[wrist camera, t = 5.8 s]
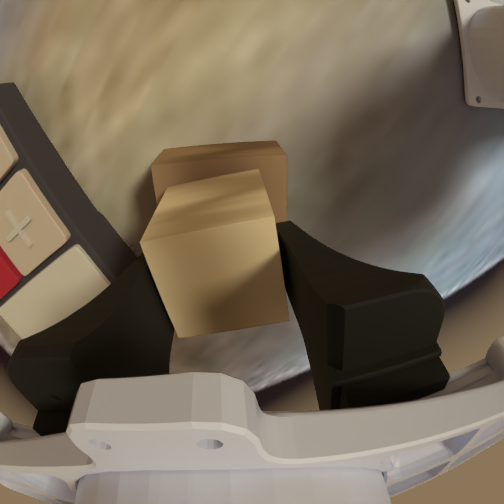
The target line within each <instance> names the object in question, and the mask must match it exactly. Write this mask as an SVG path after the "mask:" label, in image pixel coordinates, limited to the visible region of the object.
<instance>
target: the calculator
mask: <svg viewBox="0 0 504 504" xmlns="http://www.w3.org/2000/svg"><path fill="white" fill-rule="evenodd" d="M136 259H137V257H136V256H135V254H134V253H133V252H132V251H131V250H130V248H129V247H128V246H127V245H126V243H125V242H124V241H123V240H122V238H121V237H120V236H119V235H118V233H117V232H116V231H115V230H114V228H113V227H112V226H111V224H110V223H109V222H108V221H107V219H106V218H105V217H104V216H103V215H102V214H101V213H100V212H98V211H97V210H96V208H95V207H94V206H93V204H92V203H91V201H90V200H89V199H88V197H87V196H86V194H85V193H84V191H83V190H82V188H81V187H80V186H79V184H78V183H77V181H76V180H75V178H74V177H73V175H72V174H71V172H70V171H69V169H68V168H67V166H66V165H65V163H64V162H63V160H62V158H61V157H60V155H59V154H58V152H57V151H56V149H55V148H54V146H53V144H52V143H51V141H50V140H49V138H48V137H47V135H46V134H45V132H44V131H43V129H42V128H41V126H40V124H39V123H38V121H37V120H36V118H35V116H34V115H33V113H32V112H31V110H30V108H29V107H28V105H27V103H26V102H25V100H24V98H23V97H22V95H21V93H20V92H19V90H18V88H17V87H16V85H15V84H14V83H3V84H0V315H1V316H2V317H3V318H4V320H5V321H6V322H7V323H8V324H9V325H10V326H11V327H12V328H13V330H14V331H15V332H16V333H17V334H18V335H19V336H20V337H21V338H22V339H25V338H27V337H29V336H32V335H34V334H36V333H38V332H41V331H43V330H45V329H47V328H49V327H51V326H52V325H54V324H56V323H58V322H60V321H61V320H63V319H65V318H66V317H68V316H69V315H71V314H72V313H74V312H75V311H77V310H78V309H80V308H81V307H83V306H84V305H86V304H87V303H88V302H90V301H91V300H92V299H94V298H95V297H96V296H97V295H99V294H100V293H101V292H102V291H103V290H104V289H106V288H107V287H108V286H109V285H110V284H111V283H112V282H113V281H114V280H115V279H116V278H117V277H118V276H120V275H121V274H122V273H123V272H124V271H125V270H126V269H127V268H128V267H129V266H130V265H131V264H132V263H133V262H134V261H135V260H136Z"/></svg>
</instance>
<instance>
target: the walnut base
mask: <svg viewBox="0 0 504 504" xmlns="http://www.w3.org/2000/svg"><path fill="white" fill-rule="evenodd" d="M254 169H259V171H260V174H261V177H262V180H263V183H264V186H265V189H266V192H267V195H268V198H269V201H270V204H271V207H272V210H273V214H274V217H275V223H279V222H285V221H287V155H286V153H285V152H284V151H283V149H282V148H281V147H280V145H279V144H278V143H277V141H256V142H238V143H223V144H211V145H199V146H189V147H179V148H171V149H164V150H163V151H162V152H161V153H160V155H159V156H158V157H157V158H156V160H155V161H154V162H153V164H152V165H151V171H152V177H153V184H154V190H155V196H156V202H157V207H158V205H159V203H160V201H161V199H162V197H163V195H164V193H165V191H166V189H167V188H168V187H172V186H176V185H180V184H185V183H189V182H194V181H199V180H203V179H208V178H213V177H218V176H223V175H228V174H233V173H238V172H243V171H249V170H254Z"/></svg>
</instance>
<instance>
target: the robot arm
mask: <svg viewBox="0 0 504 504" xmlns="http://www.w3.org/2000/svg"><path fill="white" fill-rule="evenodd" d="M454 4H455V9H456V15H457V21H458V27H459V34H460V41H461V49H462V59H463V70H464V85H465V100H466V103H467V104H468V105H470V106H473V107H488V108H500V109H504V5H501V4H498V3H495V2H492V1H490V0H467V1H465V0H454ZM476 97H477V98H478V100H477V102H476ZM275 224H276V230H277V237H278V243H279V250H280V257H281V264H282V271H283V278H284V285H285V289H286V292H287V294H288V297H289V300H290V303H291V305H292V308H293V311H294V313H295V316H296V319H297V321H298V324H299V327H300V329H301V332H302V335H303V339H304V342H305V346H306V350H307V355H308V359H309V363H310V368H311V371H312V376H313V381H314V385H315V390H316V394H317V400H318V404H319V409H320V410H316V411H261V410H260V408H259V407H258V403H257V400H256V397H255V394H254V392H253V391H252V390H251V389H250V388H249V387H248V386H247V385H246V383H245V382H244V381H242V380H240V379H237V378H234V377H231V376H229V375H226V374H223V373H220V372H199V371H194V372H185V373H175V374H169V361H170V352H171V346H172V340H173V334H174V326H173V324H172V322H171V319H170V317H169V315H168V312H167V310H166V308H165V305H164V303H163V301H162V298H161V296H160V293H159V291H158V289H157V286H156V284H155V281H154V279H153V276H152V274H151V271H150V269H149V266H148V263H147V261H146V258H145V256H144V253H142V254H141V255H140V256H139V257H138V258H137V259H136V260H135V261H134V262H133V263H132V264H131V265H130V266H129V267H128V268H127V269H126V270H125V271H124V272H123V273H122V274H121V275H120V276H118V277H117V278H116V279H115V280H114V281H113V282H112V283H111V284H110V285H109V286H108V287H107V288H106V289H104V290H103V291H102V292H101V293H100V294H99V295H97V296H96V297H95V298H94V299H92V300H91V301H90V302H88V303H87V304H86V305H84V306H83V307H81V308H80V309H78V310H77V311H75V312H74V313H72V314H71V315H69V316H68V317H66V318H65V319H63V320H61V321H60V322H58V323H56V324H54V325H52V326H51V327H49V328H47V329H45V330H43V331H41V332H38V333H36V334H34V335H32V336H29V337H27V338H25V339H22V340H20V341H19V342H18V344H17V346H16V348H15V350H14V352H13V354H12V356H11V358H10V360H9V362H8V365H7V372H8V375H9V377H10V379H11V381H12V383H13V384H14V385H15V387H16V388H17V389H18V390H19V391H20V392H21V393H22V394H23V395H24V396H25V398H26V399H28V401H30V403H31V404H32V405H33V406H34V407H35V408H36V409H37V410H38V413H37V416H36V419H35V422H34V425H33V426H29V425H23V424H17V423H13V422H12V421H11V420H10V419H9V418H8V417H7V416H6V415H5V414H4V413H2V412H1V411H0V484H2V485H4V486H5V487H7V488H10V489H12V490H15V491H18V492H20V493H23V494H25V495H28V496H31V497H34V498H36V499H39V500H42V501H45V502H48V503H51V504H391V501H390V497H392V496H395V495H397V494H400V493H402V492H404V491H407V490H409V489H411V488H414V487H416V486H418V485H420V484H422V483H424V482H427V481H429V480H431V479H433V478H435V477H436V476H439V475H441V474H443V473H445V472H447V471H449V470H450V469H452V468H454V467H456V466H458V465H460V464H461V463H463V462H465V461H466V460H468V459H470V458H472V457H473V456H475V455H477V454H478V453H480V452H482V451H483V450H485V449H487V448H488V447H490V446H492V445H493V444H495V443H496V442H498V441H499V440H501V439H502V438H504V335H503V336H501V337H499V338H498V339H496V340H495V341H494V342H493V343H492V344H491V346H490V348H489V350H488V352H487V354H486V357H485V358H484V359H482V360H480V361H478V362H476V363H473V364H471V365H469V366H467V367H464V368H462V369H460V370H457V371H455V372H453V373H451V374H449V373H448V371H447V370H446V368H445V366H444V364H443V363H442V361H441V359H440V358H439V356H441V353H442V352H441V349H440V347H439V346H438V344H437V342H436V341H437V338H438V335H439V332H440V328H441V325H442V322H443V319H444V313H445V305H444V300H443V298H442V297H441V295H440V294H439V293H438V291H437V290H436V289H435V287H434V286H433V285H432V283H431V282H430V281H429V280H428V279H427V278H426V277H425V276H424V275H423V274H416V273H408V272H400V271H394V270H389V269H385V268H380V267H377V266H373V265H369V264H366V263H363V262H360V261H357V260H355V259H352V258H350V257H347V256H345V255H343V254H341V253H338V252H336V251H334V250H333V249H331V248H329V247H327V246H325V245H324V244H322V243H320V242H319V241H317V240H316V239H314V238H313V237H311V236H310V235H308V234H307V233H306V232H304V231H303V230H302V229H300V228H299V227H298V226H297V225H295V224H294V223H293V222H291V221H285V222H279V223H275Z"/></svg>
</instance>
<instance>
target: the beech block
mask: <svg viewBox="0 0 504 504" xmlns="http://www.w3.org/2000/svg"><path fill="white" fill-rule="evenodd" d="M140 245H141V248H142V250H143V253H144V256H145V258H146V261H147V263H148V266H149V269H150V271H151V274H152V276H153V279H154V281H155V284H156V286H157V289H158V291H159V293H160V296H161V298H162V301H163V303H164V305H165V308H166V310H167V312H168V315H169V317H170V319H171V322H172V324H173V326H174V328H175V331H176V333H177V335H178V337H179V338H184V337H192V336H199V335H206V334H213V333H219V332H226V331H232V330H238V329H245V328H251V327H256V326H262V325H268V324H273V323H279V322H284V321H289V313H288V306H287V299H286V292H285V285H284V278H283V271H282V264H281V257H280V250H279V243H278V237H277V230H276V224H275V217H274V214H273V210H272V207H271V204H270V201H269V198H268V195H267V192H266V189H265V186H264V183H263V180H262V177H261V174H260V171H259V169H254V170H249V171H243V172H238V173H233V174H228V175H223V176H218V177H213V178H208V179H203V180H199V181H194V182H189V183H185V184H180V185H176V186H172V187H168V188H167V189H166V191H165V193H164V195H163V197H162V199H161V201H160V203H159V205H158V207H157V208H156V210H155V212H154V214H153V216H152V218H151V220H150V222H149V224H148V226H147V228H146V230H145V232H144V234H143V236H142V239H141V241H140Z"/></svg>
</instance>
